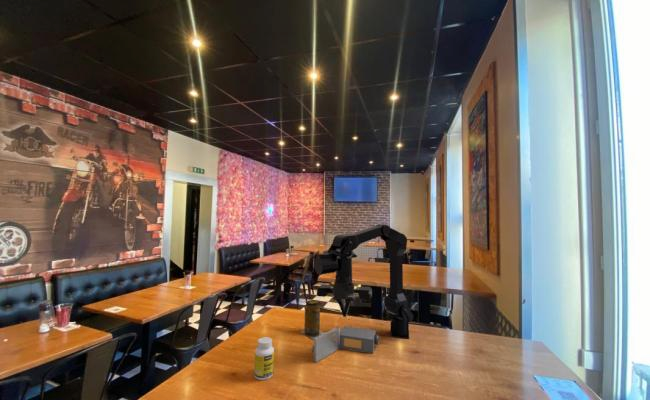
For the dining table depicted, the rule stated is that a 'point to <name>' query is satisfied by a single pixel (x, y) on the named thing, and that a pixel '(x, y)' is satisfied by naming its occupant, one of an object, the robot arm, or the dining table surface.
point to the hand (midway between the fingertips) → (344, 316)
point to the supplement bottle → (264, 359)
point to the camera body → (357, 339)
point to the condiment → (312, 319)
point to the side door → (325, 344)
